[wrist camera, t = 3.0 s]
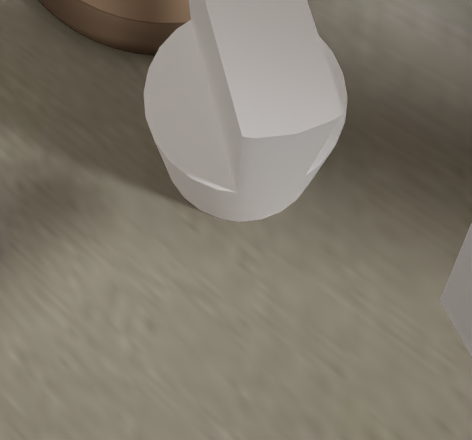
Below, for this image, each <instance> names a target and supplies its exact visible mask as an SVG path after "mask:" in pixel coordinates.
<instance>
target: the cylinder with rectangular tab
mask: <svg viewBox="0 0 472 440" xmlns="http://www.w3.org/2000/svg"><path fill="white" fill-rule="evenodd" d="M189 8H190V16H191V20H190V21H188V22H187V23H185V24H184V25H182V26H180V27H179V28H177V29H176V30H175V31H174V32H173V33H172V34H171V35H170V37H169V38H168V39H167V40H166V41H165V42H164V43H163V44H162V45H161V46H160V47H159V49H158V51H157V53H156V55H155V57H154V59H153V61H152V63H151V65H150V67H149V69H148V73H147V78H146V83H145V88H144V105H145V117H146V120H147V123H148V125H149V128H150V131H151V133H152V136H153V138H154V141H155V143H156V146H157V148H158V150H159V152H160V155H161V157H162V159H163V162H164V164H165V166H166V169H167V171H168V173H169V176H170V178H171V180H172V182H173V184H174V185H175V186H176V188H177V189H178V190H179V192H180V193H181V194H182V196H183V197H184V198H185V199H186V200H188V201H189V202H190V203H191V204H193V205H194V206H195V207H196V208H198V209H199V210H200V211H203V212H205V213H207V214H210V215H212V216H214V217H217V218H219V219H225V220H232V221H239V222H243V221H252V220H261V219H264V218H266V217H269V216H271V215H274V214H276V213H279V212H281V211H282V210H284V209H285V208H287V207H288V206H289V205H291V204H292V203H293V202H295V201H296V200H297V199H298V198H299V196H300V195H301V194H302V193H303V191H304V190H305V189H306V187H307V186H308V185H309V184H310V182H311V181H312V179H313V178H314V176H315V175H316V173H317V172H318V170H319V169H320V167H321V166H322V165H323V163H324V162H325V160H326V159H327V157H328V156H329V154H330V153H331V151H332V150H333V148H334V147H335V146H336V143H337V141H338V138H339V136H340V133H341V131H342V128H343V126H344V123H345V119H346V108H347V98H348V97H347V91H346V86H345V81H344V75H343V72H342V70H341V68H340V66H339V64H338V62H337V60H336V58H335V56H334V54H333V52H332V50H331V49H330V48H329V47H328V46H327V45H326V43H325V42H324V41H323V40H322V39H321V38H320V37H319V35H318V32H317V29H316V26H315V23H314V20H313V17H312V14H311V11H310V8H309V5H308V2H307V0H189Z"/></svg>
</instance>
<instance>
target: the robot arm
mask: <svg viewBox="0 0 472 440" xmlns="http://www.w3.org/2000/svg"><path fill="white" fill-rule="evenodd" d="M440 303H441V305H442V306H443V308H444V310H445V312H446V313H447V315H448V317H449V318H450V320H451V322H452V324H453V325H454V327H455V329H456V331H457V332H458V334H459V336H460V338H461V339H462V341H463V343H464V345H465V346H466V348H467V350H468V352H469V353H470V355H471V357H472V223H471V225H470V228H469V230H468V232H467V235H466V237H465V240H464V242H463V245H462V247H461V250H460V252H459V254H458V257H457V259H456V262H455V264H454V267H453V269H452V272H451V274H450V276H449V279H448V281H447V284H446V286H445V289H444V291H443V293H442V296H441V298H440Z"/></svg>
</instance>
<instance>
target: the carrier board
mask: <svg viewBox="0 0 472 440" xmlns="http://www.w3.org/2000/svg"><path fill="white" fill-rule="evenodd" d="M39 1H40V2H41V4H42V5H43V6H44V7H45V8H46V9H48V10H49V11H50V12H51V13H52V14H53V15H54V16H55V17H56V18H57V19H59V20H60V21H62V22H63V23H64V24H66V25H67V26H69V27H70V28H72V29H73V30H75V31H76V32H78V33H80V34H82V35H84V36H86V37H88V38H90V39H92V40H94V41H96V42H99V43H102V44H105V45H107V46H110V47H113V48H116V49H120V50H125V51H129V52H133V53H138V54H147V55H156V53H157V51H158V49H159V47H160V46H161V45H162V44H163V43H164V42H165V41H166V40H167V39H168V38H169V37H170V35H171V34H172V33H173V32H174V31H175V30H176V29H177V28H179V27H180V26H182V25H184V24H185V23H187V22H188V21H190V20H191V16H190V8H189V0H39Z"/></svg>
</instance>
